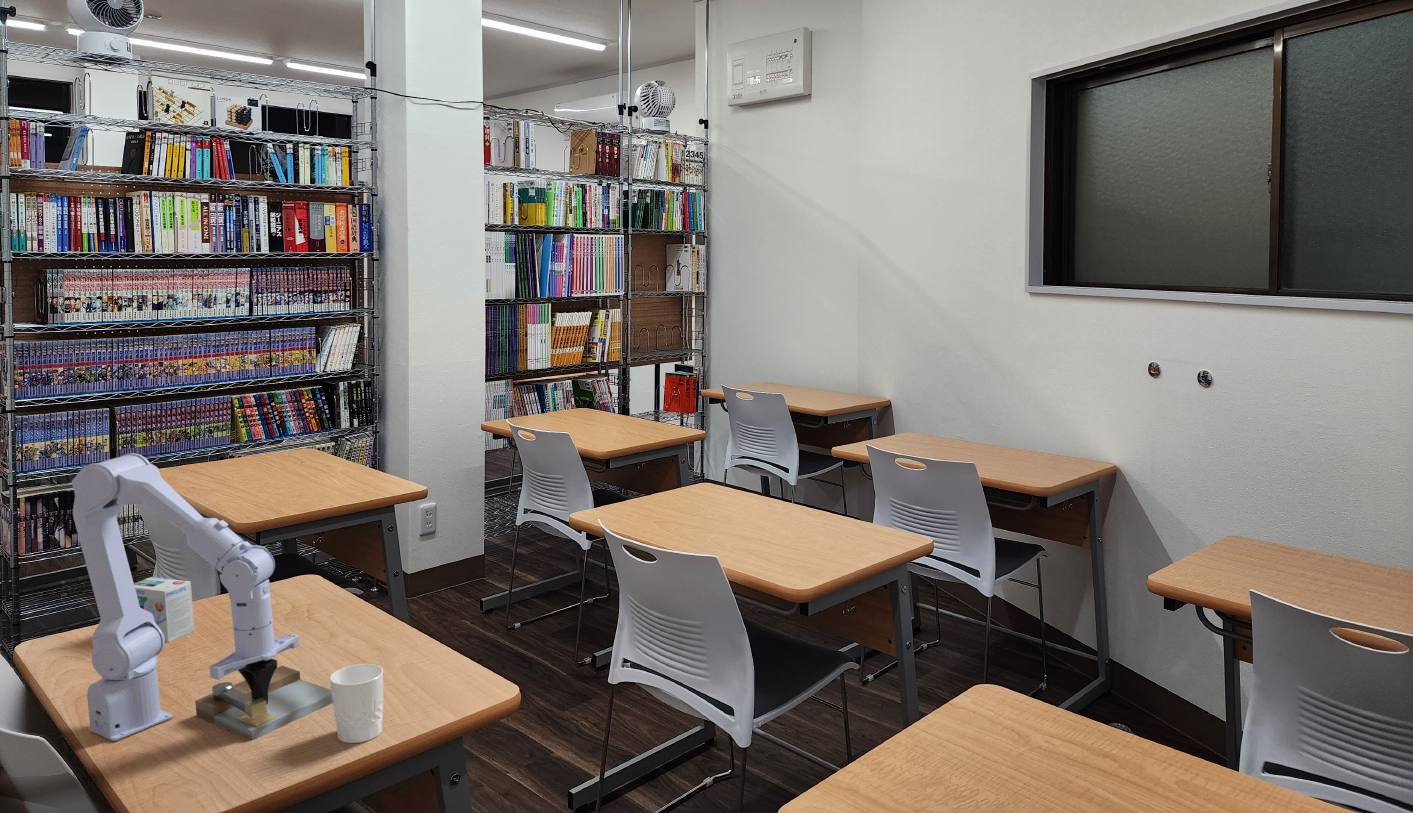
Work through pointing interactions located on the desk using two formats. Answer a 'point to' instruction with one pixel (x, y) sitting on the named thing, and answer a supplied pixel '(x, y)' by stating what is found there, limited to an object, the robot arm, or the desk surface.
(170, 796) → the desk surface
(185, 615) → the light bulb box
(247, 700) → the latch bar
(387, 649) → the desk surface
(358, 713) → the white cup
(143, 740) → the desk surface
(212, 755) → the desk surface
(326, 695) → the door board
